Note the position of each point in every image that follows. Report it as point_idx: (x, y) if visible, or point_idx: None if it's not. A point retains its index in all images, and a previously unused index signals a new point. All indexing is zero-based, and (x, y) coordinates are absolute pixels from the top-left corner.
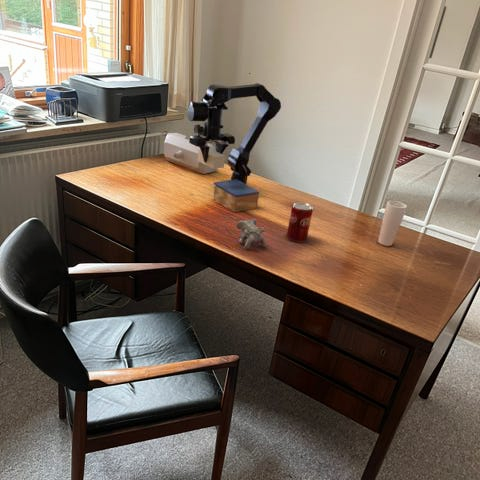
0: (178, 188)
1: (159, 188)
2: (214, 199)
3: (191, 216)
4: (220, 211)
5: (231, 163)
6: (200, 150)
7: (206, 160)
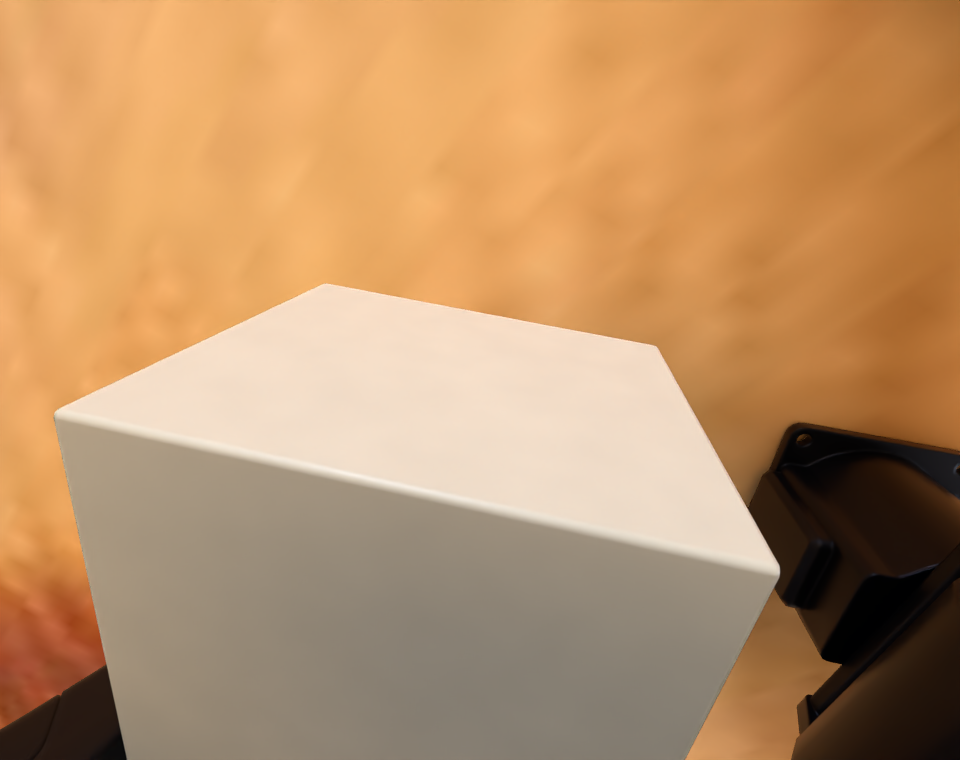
0: (216, 186)
1: (18, 73)
2: None
3: (64, 630)
4: None
5: (876, 750)
6: (105, 543)
7: None
